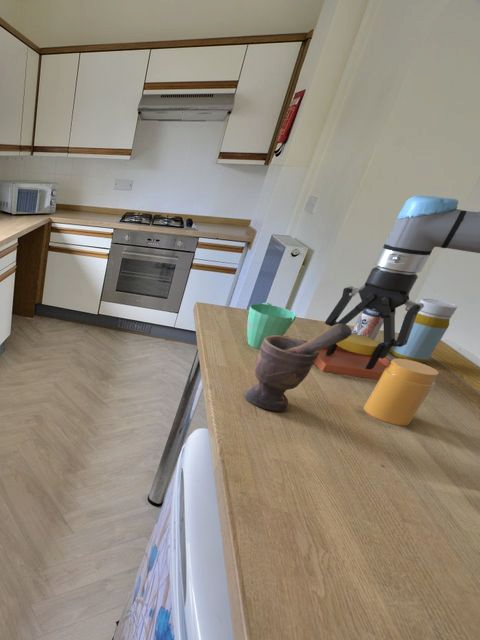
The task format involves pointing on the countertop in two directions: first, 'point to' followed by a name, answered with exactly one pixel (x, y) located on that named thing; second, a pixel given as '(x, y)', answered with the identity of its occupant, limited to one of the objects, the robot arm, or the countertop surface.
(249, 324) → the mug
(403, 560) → the countertop surface
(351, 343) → the jar lid
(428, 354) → the bottle
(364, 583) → the countertop surface
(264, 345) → the mortar and pestle
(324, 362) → the tray
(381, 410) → the jam jar
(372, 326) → the beer can
